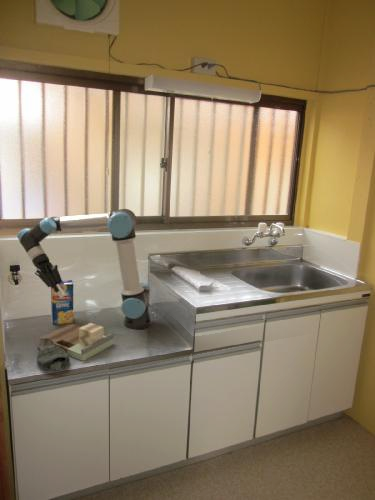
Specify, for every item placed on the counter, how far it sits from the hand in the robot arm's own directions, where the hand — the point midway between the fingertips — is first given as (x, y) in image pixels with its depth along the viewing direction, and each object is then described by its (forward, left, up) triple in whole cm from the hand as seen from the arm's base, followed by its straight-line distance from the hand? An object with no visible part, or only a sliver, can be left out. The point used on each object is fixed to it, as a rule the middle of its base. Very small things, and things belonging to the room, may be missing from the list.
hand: (63, 296), depth 203 cm
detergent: (+5, +20, -23) cm, 31 cm away
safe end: (-13, +13, -22) cm, 29 cm away
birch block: (-13, +13, -19) cm, 26 cm away
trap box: (-3, +3, -22) cm, 23 cm away
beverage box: (+1, -22, -22) cm, 31 cm away
